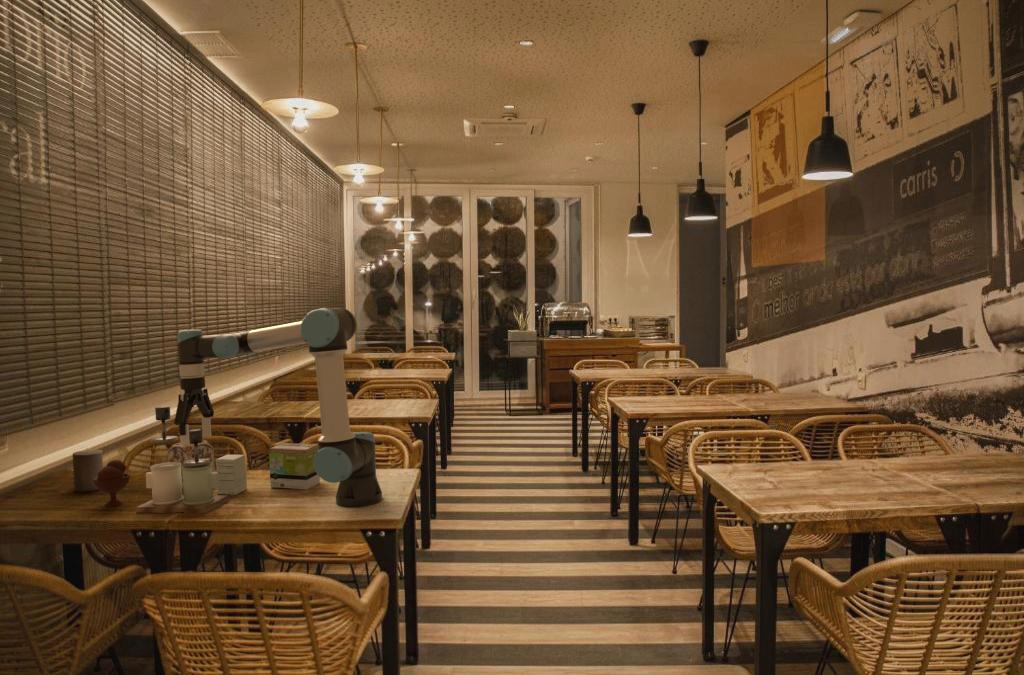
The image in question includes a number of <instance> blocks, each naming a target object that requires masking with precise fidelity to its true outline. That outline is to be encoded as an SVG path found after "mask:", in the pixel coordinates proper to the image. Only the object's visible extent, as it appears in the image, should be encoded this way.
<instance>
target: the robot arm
mask: <svg viewBox="0 0 1024 675" xmlns="http://www.w3.org/2000/svg"><path fill="white" fill-rule="evenodd" d="M357 328H358V322H357V319H356V317H355V315H354V314H353V313H352V312H351V311H350V310H348V309H346V308H344V307H340V306H339V307H320V308H316V309H314V310H311V311H309V312H307V314H306V315H305V316H304V318H303V319H302V320H299V321H295V322H290V323H285V324H279V325H274V326H269V327H268V326H267V327H263V328H257V329H253V330H247V331H241V332H235V333H225V334H224V333H223V334H213V335H212V334H211V335H209V334H208V335H203V332H202V329H184V330H183V329H182V330H179V331H178V332H177V341H176V342H177V343H176V345H177V353H178V354H177V355H178V361H179V362H178V370H179V377H181V378H180V379H179V385H180V390H182V391H184V393H179V394H178V396H177V397H178V400H177V401H178V402H177V406H176V412H175V415H174V416H175V417H174V420H173V421H174V425H175V426H179V427H178V428H179V442H180V445H190V440H189V430H190V426H189V424H188V422H189V418H190V416H191V412H192V410H193V408H194V407H195V406H196V407H197V408H198V411H199V412H200V414H201V415H202V417H201V429H202V432H203V438H207V437H208V438H211V437H212V425H211V422H212V421H211V418H212V417H214V414H215V411H214V408H213V405H212V402H211V399H210V396H209V392H208V391H209V390H208V388H206V378H205V376H204V375H205V372H206V371H205V363H204V362H205V359H229V358H234V357H235V356H243V355H249V354H254V353H259V352H264V351H270V350H275V349H281V348H287V347H292V346H297V345H298V346H299V345H304V344H307V345H308V350H309V352H308V353H309V354H310V356H312V357H314V361H315V362H314V363H315V372H316V384H317V395H318V396H317V397H318V405H319V415H320V416H319V417H320V424H321V425H320V426H321V435H320V436H319V437H318V439H317V444H318V449H319V450H318V452H317V453H316V455H315V457H314V461H313V465H314V469H315V471H316V473H317V475H318V476H319V477H320V479H322V480H323V481H324V482H327V483H332V484H333V483H334V484H335V483H339V484H338V486H337V491H336V493H335V494H336V495H335V503H336V505H339V506H342V507H364V506H370V505H374V504H377V503H380V502H381V501H382V499H383V492H382V489H381V486H380V484H379V480H378V478H377V469H376V468H377V467H376V466H377V465H376V441H375V435H374V433H372V432H370V431H369V432H368V431H351V427H350V418H349V406H348V405H349V404H348V395H347V382H346V373H345V362H344V355H345V353H346V352H347V351H348V341H350V340H351V339H352V338H353V337H354V336H355V334H356V332H357Z"/></svg>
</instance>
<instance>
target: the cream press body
mask: <svg viewBox="0 0 1024 675" xmlns="http://www.w3.org/2000/svg"><path fill="white" fill-rule="evenodd" d="M149 470H150V471H148V472H146V473H145V485H146V489H151V490H152V491H151V492H152V495H151V496H152V499H151V500H152V504H154V505H168V504H174V503H178V502H180V501H182V500H183V499H184V497H183V496H182V495H183V489H182V478H181V463H179V462H168V461H167V462H160V463H157V464H153V465H150V467H149Z"/></svg>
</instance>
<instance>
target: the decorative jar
mask: <svg viewBox="0 0 1024 675" xmlns="http://www.w3.org/2000/svg"><path fill="white" fill-rule="evenodd" d="M214 451H215V450H214V447H213V445H212V444H211V443H210V442H209V441H207V440H206V439H205V440H204V439H203V442H202V443H198V456H199V459H209V460H210V463H212V472H216V466H215V465H216V462H215V452H214ZM194 459H195V455H194V444H190V445H180V441H179V442H176V443H174V444H173V445H171V447H170V448H169V449H168V450H167V462H179V463H181V467H182V466H184V462H185V461H189V460H194ZM181 478H182V490H183V474H182V468H181Z"/></svg>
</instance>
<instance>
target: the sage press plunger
mask: <svg viewBox="0 0 1024 675" xmlns="http://www.w3.org/2000/svg"><path fill="white" fill-rule="evenodd" d="M189 440H190V444H194V455H195V459H194V460H189V461H185V462H184V466H186V467H196V466H203V465H207V464H209V463H210V460H209V459H199V456H198V443H202V442H203V440H204V437H203V432H202V428H195V429H189Z"/></svg>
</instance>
